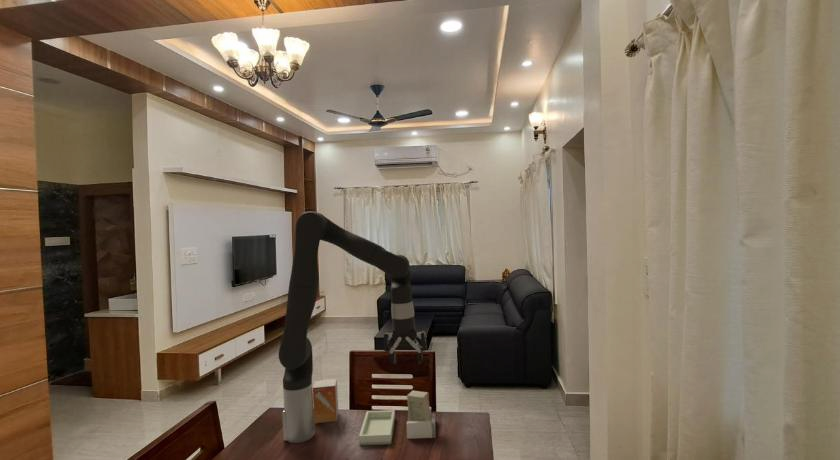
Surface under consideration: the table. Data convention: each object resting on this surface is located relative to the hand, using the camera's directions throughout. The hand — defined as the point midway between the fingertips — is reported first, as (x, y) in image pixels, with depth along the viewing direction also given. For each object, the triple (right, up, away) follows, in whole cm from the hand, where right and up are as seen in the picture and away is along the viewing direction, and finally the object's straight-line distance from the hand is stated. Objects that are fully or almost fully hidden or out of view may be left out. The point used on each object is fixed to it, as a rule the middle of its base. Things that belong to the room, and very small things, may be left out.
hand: (407, 363), depth 130 cm
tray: (-10, -23, +1) cm, 25 cm away
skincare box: (+4, -23, 0) cm, 23 cm away
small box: (-29, -24, +11) cm, 40 cm away
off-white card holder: (+4, -22, 0) cm, 23 cm away
